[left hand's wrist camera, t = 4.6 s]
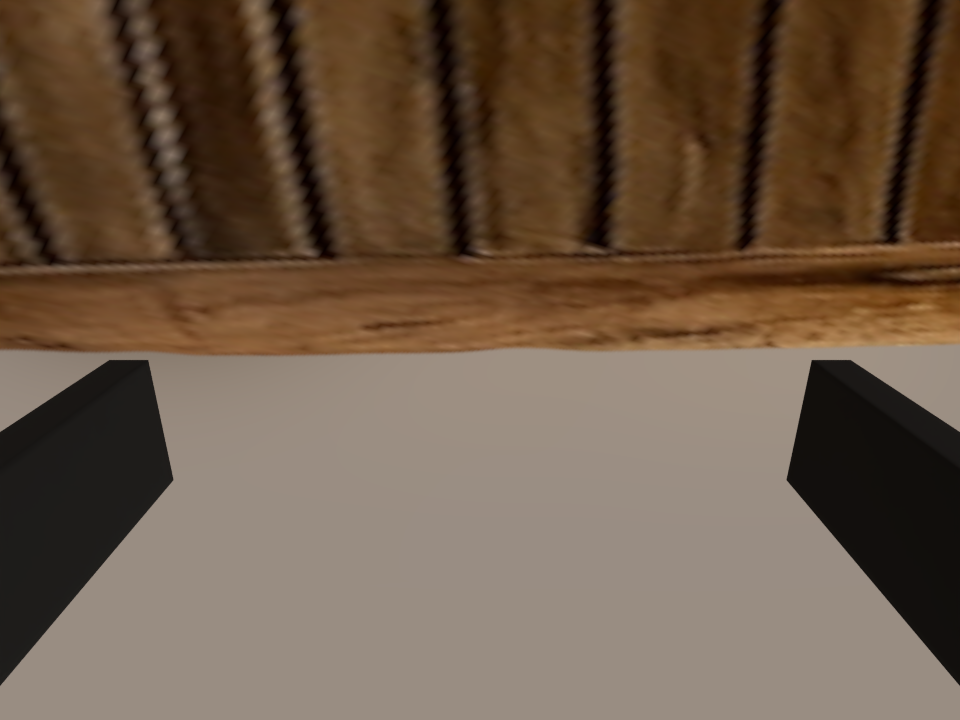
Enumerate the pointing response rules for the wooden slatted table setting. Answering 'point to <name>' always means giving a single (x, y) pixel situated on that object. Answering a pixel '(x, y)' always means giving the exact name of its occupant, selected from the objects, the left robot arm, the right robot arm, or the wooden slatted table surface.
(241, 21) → the wooden slatted table surface
